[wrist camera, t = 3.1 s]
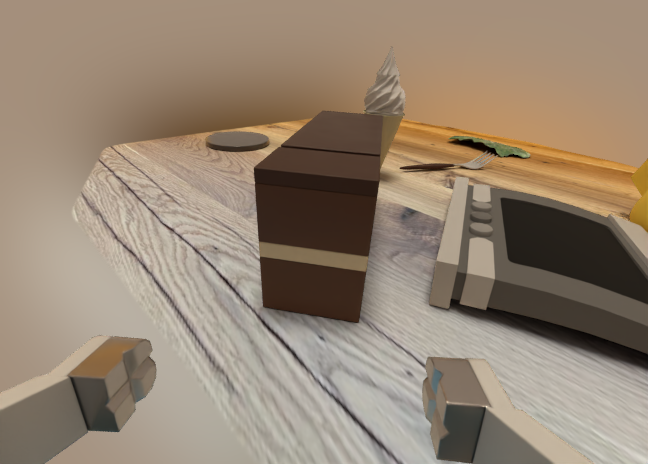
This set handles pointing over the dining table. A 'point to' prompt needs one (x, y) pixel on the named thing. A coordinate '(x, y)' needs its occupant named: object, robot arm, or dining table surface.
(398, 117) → the ice cream cone
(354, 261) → the cake slice
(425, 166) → the fork
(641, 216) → the teapot
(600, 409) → the dining table surface
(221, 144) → the plate
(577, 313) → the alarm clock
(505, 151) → the lettuce leaf
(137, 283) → the dining table surface
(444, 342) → the dining table surface
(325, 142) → the cake loaf
